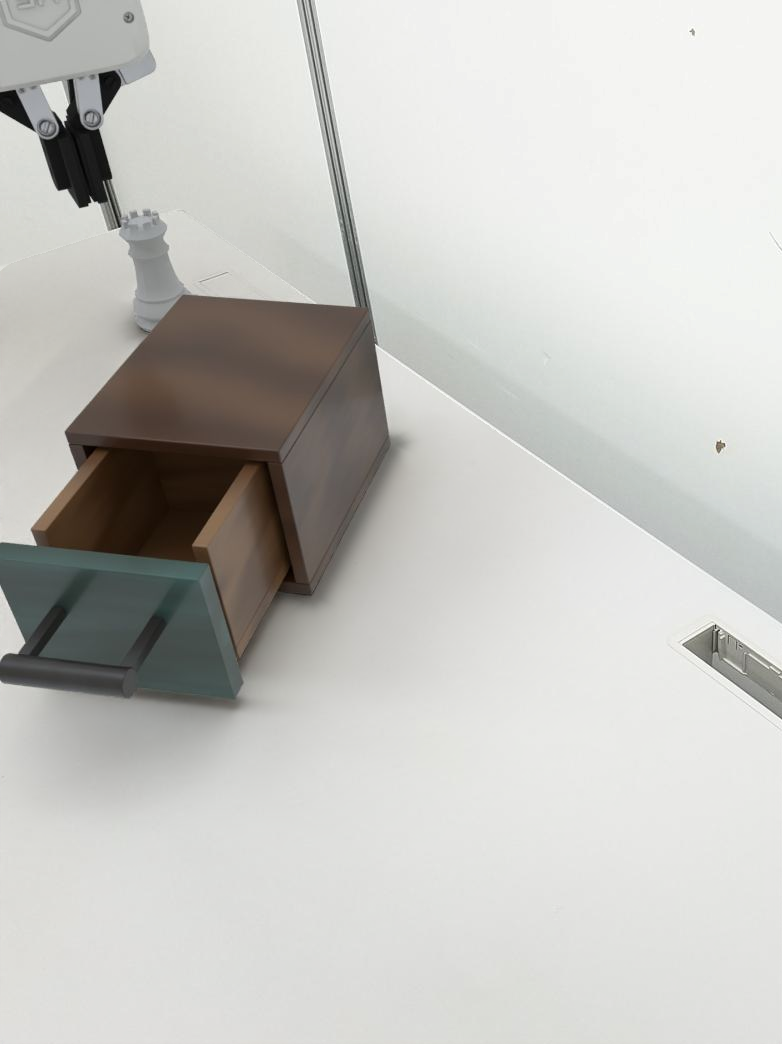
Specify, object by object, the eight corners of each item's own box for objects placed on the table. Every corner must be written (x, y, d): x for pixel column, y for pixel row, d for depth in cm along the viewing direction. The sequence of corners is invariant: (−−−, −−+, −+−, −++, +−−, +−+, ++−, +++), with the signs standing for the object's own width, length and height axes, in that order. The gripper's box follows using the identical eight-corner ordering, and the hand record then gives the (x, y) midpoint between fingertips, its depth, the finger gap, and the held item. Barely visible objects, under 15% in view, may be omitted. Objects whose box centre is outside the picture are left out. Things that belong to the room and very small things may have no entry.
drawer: (195, 772, 59) (153, 651, 54) (-10, 746, 60) (-71, 625, 55) (326, 530, 72) (302, 414, 67) (155, 513, 74) (119, 399, 68)
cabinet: (312, 595, 69) (279, 450, 63) (114, 574, 71) (63, 431, 65) (390, 444, 80) (369, 307, 74) (217, 428, 82) (182, 293, 75)
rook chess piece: (177, 340, 90) (148, 234, 85) (123, 330, 91) (92, 226, 86) (211, 310, 93) (185, 206, 88) (159, 301, 94) (130, 199, 89)
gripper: (-190, -143, 54) (-39, 255, 66) (157, -185, 60) (237, 190, 72) (-207, -174, 59) (-64, 203, 71) (115, -210, 65) (197, 145, 77)
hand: (87, 195), depth 72 cm, fingers closed
